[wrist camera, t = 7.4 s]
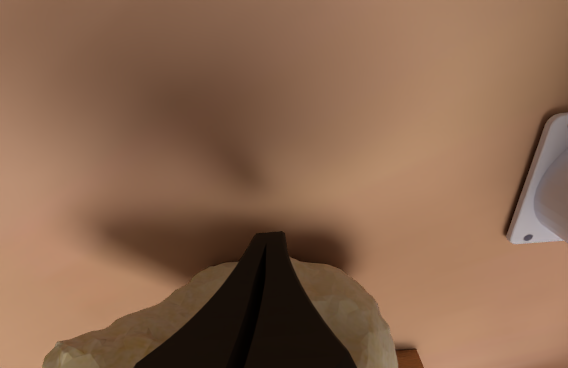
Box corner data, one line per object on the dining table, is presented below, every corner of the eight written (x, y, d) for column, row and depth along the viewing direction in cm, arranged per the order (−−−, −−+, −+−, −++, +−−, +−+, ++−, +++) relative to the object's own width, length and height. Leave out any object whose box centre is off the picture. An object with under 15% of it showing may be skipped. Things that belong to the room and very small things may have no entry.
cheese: (394, 268, 21) (401, 246, 8) (396, 375, 19) (412, 608, 5) (231, 252, 26) (74, 223, 13) (217, 332, 24) (13, 394, 11)
